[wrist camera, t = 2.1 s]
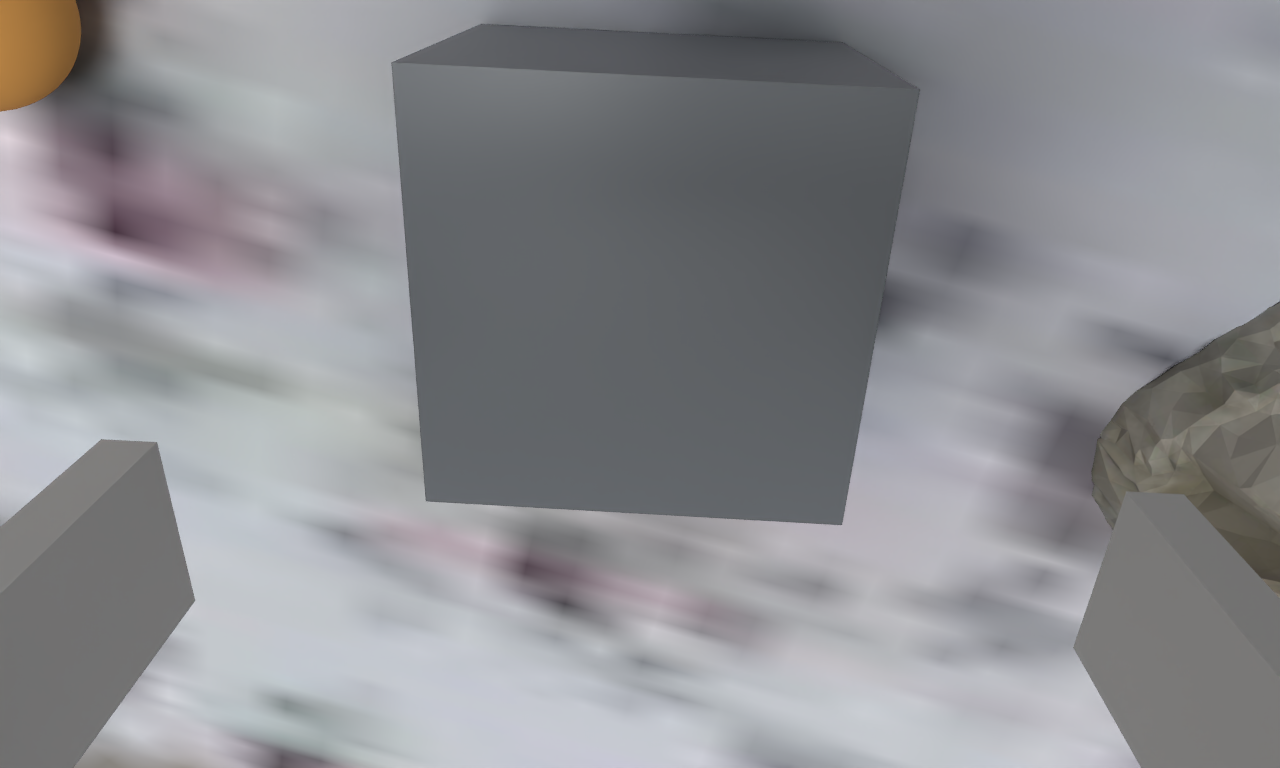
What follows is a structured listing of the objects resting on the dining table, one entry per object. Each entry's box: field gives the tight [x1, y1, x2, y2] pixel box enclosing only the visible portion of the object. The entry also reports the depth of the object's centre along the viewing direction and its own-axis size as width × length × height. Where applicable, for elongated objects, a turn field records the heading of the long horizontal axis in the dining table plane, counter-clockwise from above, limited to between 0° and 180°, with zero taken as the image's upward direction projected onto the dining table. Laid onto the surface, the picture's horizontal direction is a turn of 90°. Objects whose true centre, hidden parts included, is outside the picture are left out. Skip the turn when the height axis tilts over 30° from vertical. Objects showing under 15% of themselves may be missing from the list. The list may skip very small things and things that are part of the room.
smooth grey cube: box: [392, 24, 920, 525], centre depth 23 cm, size 10×10×9 cm
